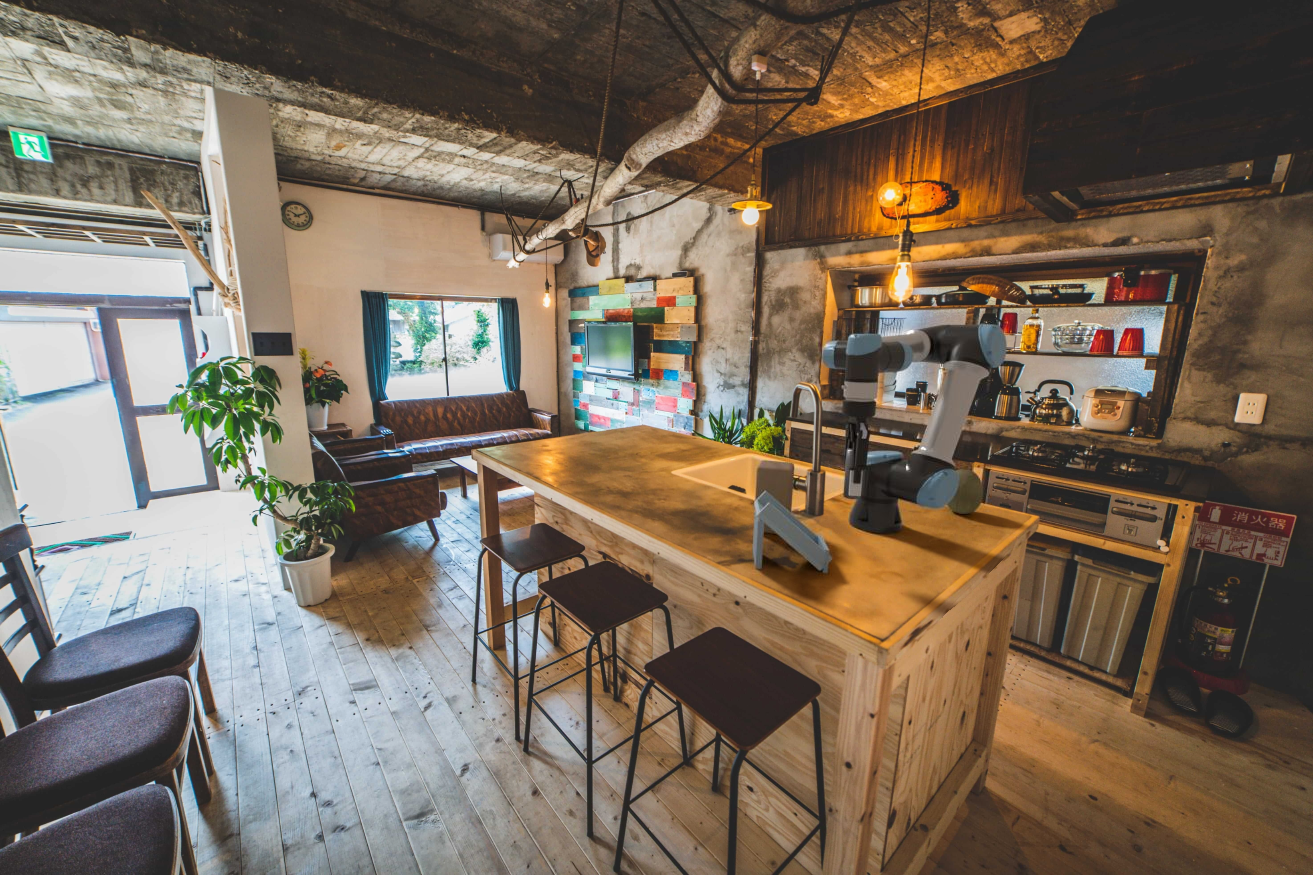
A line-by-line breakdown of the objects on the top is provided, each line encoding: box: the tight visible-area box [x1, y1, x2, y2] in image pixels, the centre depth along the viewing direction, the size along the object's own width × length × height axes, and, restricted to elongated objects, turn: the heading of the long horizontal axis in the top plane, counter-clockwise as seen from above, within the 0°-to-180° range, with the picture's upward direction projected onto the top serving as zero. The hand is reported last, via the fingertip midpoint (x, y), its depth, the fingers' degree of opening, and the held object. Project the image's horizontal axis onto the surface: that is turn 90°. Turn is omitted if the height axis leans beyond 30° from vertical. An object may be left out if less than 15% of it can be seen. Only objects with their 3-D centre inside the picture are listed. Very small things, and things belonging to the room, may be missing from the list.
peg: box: [842, 448, 860, 500], centre depth 126 cm, size 4×4×12 cm
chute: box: [752, 491, 834, 574], centre depth 130 cm, size 19×10×17 cm, turn 83°
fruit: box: [946, 468, 984, 515], centre depth 169 cm, size 11×11×15 cm
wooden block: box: [753, 459, 795, 535], centre depth 152 cm, size 10×10×20 cm
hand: (852, 492), depth 127 cm, fingers closed on peg, 4 cm apart
